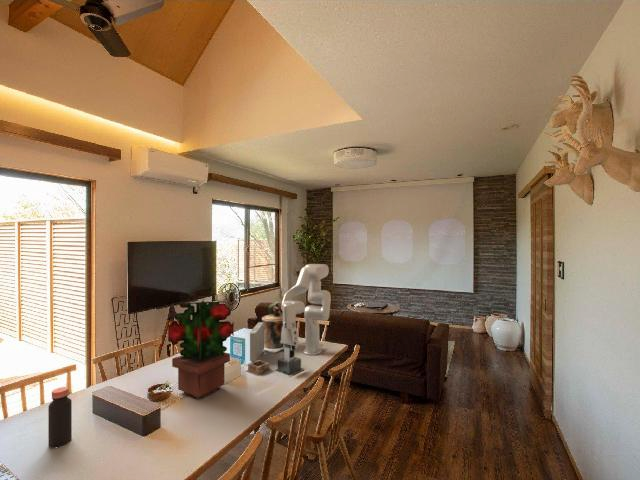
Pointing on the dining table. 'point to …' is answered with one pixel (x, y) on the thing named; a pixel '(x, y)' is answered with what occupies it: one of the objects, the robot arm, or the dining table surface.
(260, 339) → the network device
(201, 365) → the potted plant
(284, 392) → the dining table surface
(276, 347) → the cookie jar
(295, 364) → the port block
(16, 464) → the dining table surface
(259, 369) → the brown square ashtray
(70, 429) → the bottle
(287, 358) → the plug
